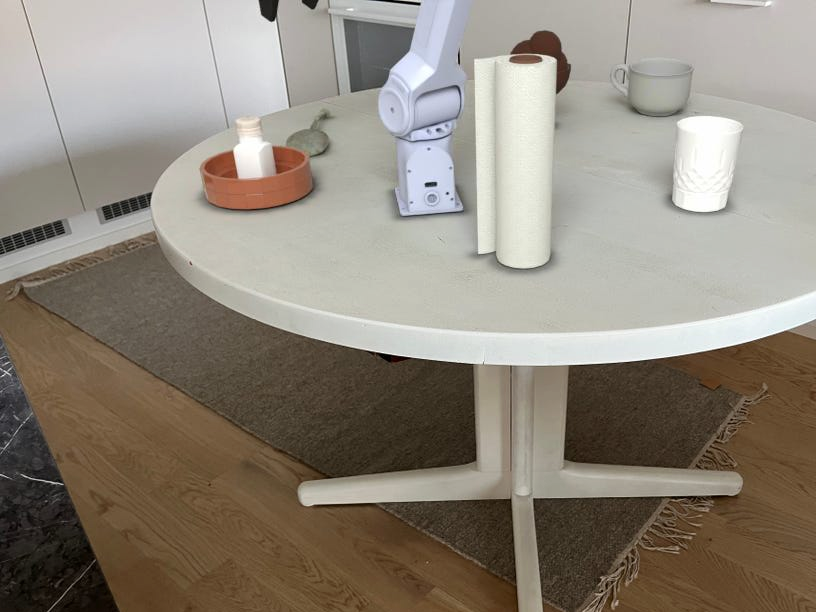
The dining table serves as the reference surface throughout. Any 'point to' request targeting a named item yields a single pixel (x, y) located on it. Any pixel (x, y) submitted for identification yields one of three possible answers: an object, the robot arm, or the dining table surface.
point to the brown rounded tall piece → (547, 53)
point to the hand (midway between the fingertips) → (288, 11)
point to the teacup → (656, 84)
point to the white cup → (705, 162)
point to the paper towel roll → (515, 156)
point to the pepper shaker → (253, 150)
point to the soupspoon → (310, 137)
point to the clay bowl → (257, 180)
